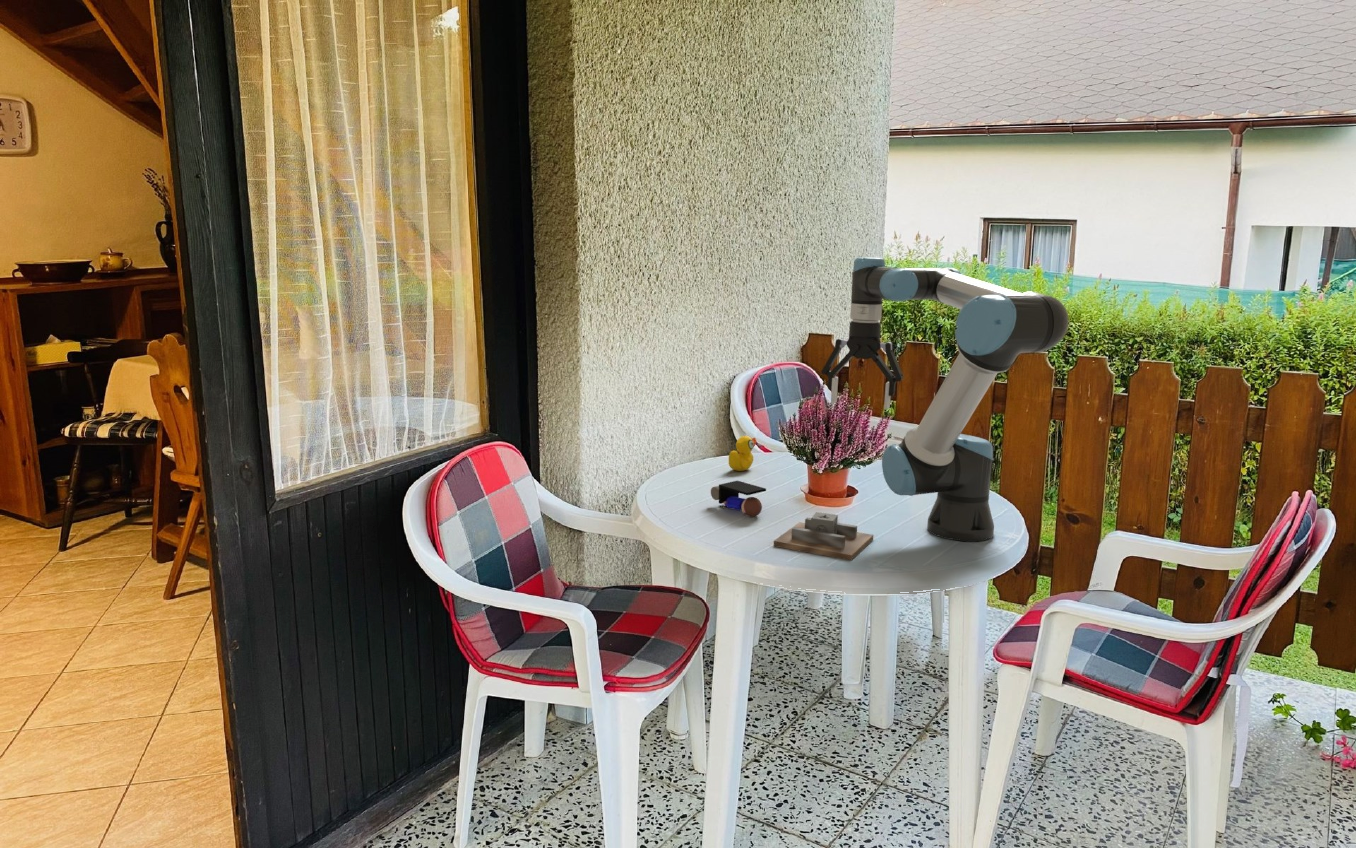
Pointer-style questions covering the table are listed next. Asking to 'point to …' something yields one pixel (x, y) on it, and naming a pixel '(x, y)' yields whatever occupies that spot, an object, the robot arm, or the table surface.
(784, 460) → the table surface
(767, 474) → the table surface
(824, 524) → the dice cube
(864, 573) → the table surface
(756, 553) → the table surface
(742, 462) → the duckling
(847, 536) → the cradle
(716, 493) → the figurine character
